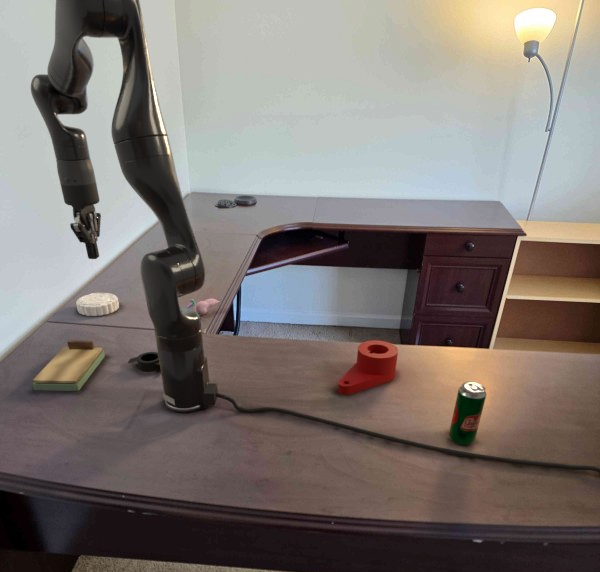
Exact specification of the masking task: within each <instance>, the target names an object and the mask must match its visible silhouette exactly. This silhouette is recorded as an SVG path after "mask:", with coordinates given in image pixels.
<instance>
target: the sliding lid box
mask: <svg viewBox="0 0 600 572" xmlns="http://www.w3.org/2000/svg"><path fill="white" fill-rule="evenodd" d="M105 357H106V356H105V350H103V349H102V351H101V352H100V353H99V355H98V356H97V357H96V358H95V360H94V361H93V362H92V364H91V365H90V366H89V367H88V369H87V370H86V371H85V373H84V374H83V375H82V376H81V378H80V379H79V380H78V381H77V383H34V382H32V387H33V391H59V392H61V391H62V392H63V391H67V392H68V391H69V392H70V391H72V392H74V391H75V392H78V391H80V390H81V389H82V387H83V386H84V385H85V383H86V382H87V381H88V380H89V378H90V377H91V376H92V374H93V372H94V371H95V370H96V369H97V367H98V366H99V365H100V363H101V362H102V361H103V359H105Z"/></svg>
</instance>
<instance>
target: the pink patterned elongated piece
mask: <svg viewBox="0 0 600 572" xmlns="http://www.w3.org/2000/svg"><path fill="white" fill-rule="evenodd" d="M220 302H221V301H220V300H218V299H216V298H207V299H205V300H200V301H198V302H196V301H195V300H194V299H193V298H192V299H190V300H189V303H188V304H187V307H186V308H187V309H190V308H193V307H194V309H192V310H193V311H196V312H197V313H198V314H199V316H204V315H205V314H206V313H207V312H208V311H209V310H210V308H212V307H213V306H214V305H216V304H217V303H220Z"/></svg>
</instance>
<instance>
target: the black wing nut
mask: <svg viewBox="0 0 600 572" xmlns="http://www.w3.org/2000/svg"><path fill="white" fill-rule="evenodd" d="M127 364H133V365H137V366H138V370H139V371H140V372H143V373H144V372H145V373H152V372H155V373H158V372H161V369H160V363H159V356H158V351H157V352H156V351H147V352H143V353H141V354H139V355H137V356H135V357H132V358H130V359H128V361H127Z"/></svg>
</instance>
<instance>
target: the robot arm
mask: <svg viewBox="0 0 600 572" xmlns="http://www.w3.org/2000/svg"><path fill="white" fill-rule="evenodd" d="M140 3H141V2H140V0H55V12H54V13H55V14H54V42H53V43H54V45H53V48H52V51H51V54H50V58H49V61H48V64H47V70H46V71H47V74H45V73H44V74H43V73H41V74H36V75H34V76H33V77H32V79H31V82H30V93H31V96H32V99H33V101H34V103H35V106H36V108H37V109H38V111H39V113H40V115H41V117H42V120H43V122H44V123H45V126H46V128H47V132H48V133H49V136H50V139H51V143H52V147H53V151H54V152H53V153H54V157H55V160H56V161H55V162H56V171H57V176H58V180H59V185H60V189H61V193H62V197H63V202H64V204H66V205H67V206H71V207H72V215H73V220H74V222H71V223H70V224H69V226H70V229H71V231H72V232H73V234H74V235H75V237H76V239H77V240H78V241H79V243H83V244H84V246H85V249H86V255H87V258H88V259H89V260H97V259H98V258H99V257H100V254H99V248H98V243H97V242H98V238H100V235H101V220H102V216H101V215H102V214H101V212H97V211H96V207H95V205H97V204H98V203H99V202H100V195H99V190H98V185H97V179H96V175H95V169H94V166H93V164H92V159H91V155H90V149H89V145H88V144H89V143H88V138H87V134H86V133H85V131H84V130H83V129H81V128H80V127H79V128H78V127H75V126H69V125H65V124H64V123H63V122H62V121H61V120H60V118H59V116H61V115H62V116H63V115H80V114H83V113H84V112H86V111H87V109H88V106H89V98H88V97H89V96H88V92H87V91H88V89H87V88H88V87H87V86H88V85H89V82H90V80H91V78H92V75H93V72H94V67H95V64H94V63H95V62H94V57H93V53H92V51H91V49H90V46H89V45H88V43H87V42H86V40H85V39H84V38H86V37H89V38H94V39H117V41H118V43H119V47H120V48H119V49H120V54H121V59H122V78H121V85H120V88H119V89H120V90H119V94H118V97H117V101H116V104H115V108H114V111H113V116H112V121H111V127H110V128H111V129H110V131H111V139H112V142H113V145H114V149H115V153H116V156H117V160H118V163H119V166H120V170H121V173H122V175H123V177H124V179H125V180H126V182H127V183H128V184H129V186H130V187H131V189H132V190H133V191H134V192H135V194H137V196H138V197H139V198H140V199H141V200H142V201H143V202H144V203H145V204H146V206H147V207H148V208H149V209H150V211H151V212H153V214H154V216H155V217H156V219H157V220H158V222H159V225H160V227H161V229H162V232H163V235H164V238H165V241H166V245H167V247H165V248H160V249H156V250H153V251H149V252H147V253H146V254H144V255H143V257H142V258H141V261H140V269H139V270H140V278H141V284H142V288H143V293H144V297H145V302H146V307H147V312H148V315H149V318H150V320H151V322H152V325H153V329H154V338H155V342H156V349H157V353H158V356H159V363H160V369H161V370H160V374H161V382H162V387H163V393H162V397H163V400H164V404H165V407H166V408H167V409H168V410H170V411H173V412H177V413H192V412H197V411H199V410H205V409H207V407H208V406H216V403H217V400H218V398H219V399H223V400H226V401H228V402H230V403H231V404H232V405H233V407H234V408H235V409H236V410H237V411H239V412H242V413H249V414H251V413H252V414H253V413H261V412H275V413H281V414H284V415H285V414H286V415H290V416H294V417H297V418H302V419H306V420H310V421H314V422H317V423H322V424H326V425H330V426H333V427H337V428H340V429H344V430H349V431H351V432H356V433H360V434H363V435H368V436H371V437H374V438H379V439H383V440H386V441H390V442H395V443H397V444H403V445H406V446H410V447H415V448H419V449H424V450H430V451H434V452H439V453H443V454H450V455H455V456H459V457H467V458H473V459H480V460H487V461H493V462H501V463H507V464H508V463H509V464H515V465H526V466H536V467H545V468H546V467H547V468H555V469H556V468H557V469H565V470H572V471H573V470H574V471H577V470H578V471H591V472H593V471H594V472H597V473H599V474H600V467H599V466H595V465H587V464H584V465H583V464H582V465H581V464H567V463H560V462H549V461H538V460H528V459H519V458H510V457H502V456H501V457H500V456H495V455H487V454H481V453H474V452H467V451H463V450H457V449H456V450H455V449H451V448H445V447H441V446H436V445H435V446H434V445H430V444H425V443H420V442H416V441H412V440H408V439H403V438H398V437H394V436H390V435H386V434H383V433H378V432H376V431H371V430H367V429H364V428H359V427H356V426H352V425H348V424H344V423H341V422H337V421H333V420H329V419H325V418H320V417H317V416H313V415H310V414H305V413H301V412H298V411H293V410H289V409H285V408H279V407H272V406H266V407H256V408H245V407H242V406H240V405H238V403H237V401H236V400H235V399H234V398H232V397H230V396H228V395H225V394H223V393H220V392H219V391H218V383H214V382H213V383H212V382H211V383H210V375H209V366H208V365H209V364H208V357H207V356H205V350H204V342H203V341H204V340H203V330H202V329H203V328H202V320H201V319H202V318H201V315H199V314H198V313H197V312H196V311H193V310H194V309H192V308H191V309H190V308H189V309H187V307H180V302H179V298H181V297H184V296H187V295H189V294H192V293H196V292H198V291H199V290H201V289H202V288H203V286H204V285H205V281H206V271H205V270H206V269H205V263H204V260H203V257H202V254H201V250H200V247H199V244H198V241H197V238H196V235H195V232H194V229H193V226H192V224H191V220H190V218H189V215H188V212H187V208H186V204H185V201H184V198H183V193H182V190H181V186H180V183H179V178H178V174H177V170H176V165H175V159H174V155H173V152H172V151H173V150H172V147H171V143H170V139H169V138H170V137H169V134H168V131H167V128H166V124H165V121H164V120H165V119H164V117H163V116H164V115H163V113H162V109H161V105H160V102H159V96H158V93H157V89H156V83H155V79H154V75H153V69H152V65H151V59H150V53H149V47H148V40H147V37H146V30H145V24H144V20H143V19H144V18H143V13H142V7H141V4H140ZM58 115H59V116H58Z"/></svg>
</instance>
